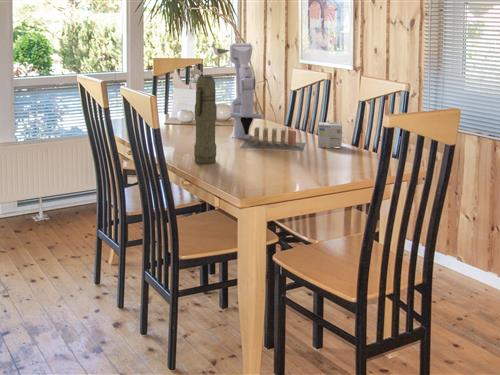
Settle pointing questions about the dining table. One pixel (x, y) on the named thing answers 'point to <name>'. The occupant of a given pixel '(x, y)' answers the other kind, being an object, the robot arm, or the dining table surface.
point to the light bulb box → (329, 134)
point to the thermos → (205, 120)
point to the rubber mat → (269, 146)
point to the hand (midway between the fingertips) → (246, 134)
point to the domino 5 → (291, 137)
